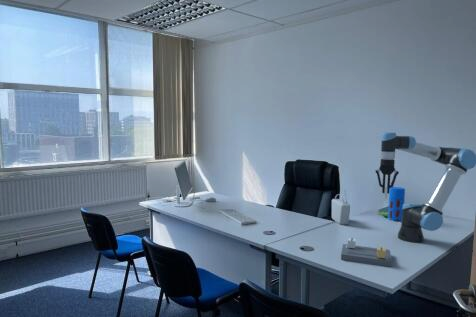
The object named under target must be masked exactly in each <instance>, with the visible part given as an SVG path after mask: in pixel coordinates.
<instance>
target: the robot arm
mask: <svg viewBox="0 0 476 317" xmlns="http://www.w3.org/2000/svg"><path fill="white" fill-rule="evenodd" d="M380 145H381V148H380V151H381V152H380V164H379V168H378V169H375V171H374V172H375V173H376V177H377V181H378V185H379V187H380V188H382V190H381V191H382V192H381V193H382V194H383V200H387V199H388V194H389V193H390V188H391V187H394V185H395V182H396V179H397V177H398V175H399V171H398V170H396V168H395V163H396V162H395V158H396V150H398V151H402V152H406V153H409V154H413V155H416V156H421V157H424V158H427V159H429V160H430V161H432V162H435V163H439V164H440V165H444V166H445V170H444V172H443V174H442V176H441V177H440V179H439V181H438V182H437V184H436V186H435V188H434V190H433V191H432V193H431V195H430V197H429V198H428V200H427V202H424V203H423V204H421V203H415V202H412V203H410V202H409V203H404V204H403V208H402V221H401V225H400V228H399V230H398V232H397V238H398V239H400V240H402V241H405V242H409V243H422V242H424V241H425V240H424V239H425V238H424V237H425V236H424V232H423V230H426V231H431V232H432V231H433V232H434V231H438V229H440V228H441V227H442V225H443V223H444V217H443V215H444V212H443V209H444V207H445V205H446V202H448V200H449V197H450V196H451V194H452V192H453V191H454V189H455V187H456V186H457V183H458V182H459V180H460V179H461V176H463V175H465V174H466V173H467V172H468V170H471V169H473V168H475V167H476V153H475V151H473V150H471V149H468V148H464V147H463V148H459V147H458V148H457V147H446V146H445V147H443V146H438V145H434V146H431V145H428V144H424V143H421V142H417V141H416V138H415V137H414V136H413V135H412V136H411V135H410V136H409V135H397V132H383V133H382V136H381V144H380ZM380 172H381V174H382V181H381V175H380ZM393 173H394V175H393V177H392V180H391V175H392V174H393ZM386 176H387V182H386ZM386 185H387V186H386Z"/></svg>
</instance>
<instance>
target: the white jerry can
mask: <svg viewBox="0 0 476 317" xmlns="http://www.w3.org/2000/svg"><path fill="white" fill-rule="evenodd" d="M343 192H344V196H345V200H344V198H343V196H342V194H339V193H338V194H336V195H335V197H334V198H332V199H331V220H334V221H335V222H336V223H337V224H338V225H341V226H342V225H343V226H344V225H346V226H347V225H349V221H350V215H351V214H350V213H351V205H350V204H349V203H348V200H347V193H346V190H345V189H344V190H343ZM338 195H339V196H340V198H341V199H340V198H337V197H338Z"/></svg>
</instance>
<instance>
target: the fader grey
mask: <svg viewBox="0 0 476 317" xmlns="http://www.w3.org/2000/svg"><path fill="white" fill-rule="evenodd" d="M356 239H357V238H354V237H353V238H350V237H348V238H347V245H348V248H355V246H356Z"/></svg>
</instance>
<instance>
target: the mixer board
mask: <svg viewBox="0 0 476 317" xmlns="http://www.w3.org/2000/svg"><path fill="white" fill-rule="evenodd" d="M340 260H341V261H348V262H354V263H360V264H361V263H362V264H368V265H377V266H385V267H390V268H393V259H392V254H391V250H390V249H386V257H385V258H378V257H377V247H370V246H361V245H355V248H348V243H346V244H345V243H342V249H341V253H340Z"/></svg>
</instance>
